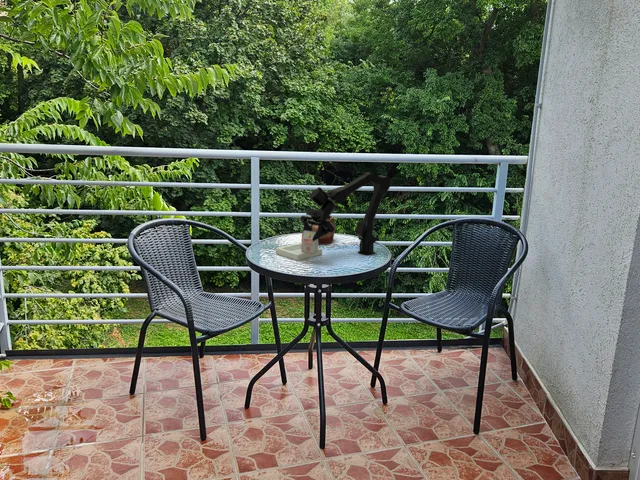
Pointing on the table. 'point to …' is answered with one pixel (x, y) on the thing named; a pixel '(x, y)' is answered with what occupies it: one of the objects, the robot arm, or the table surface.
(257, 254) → the table surface
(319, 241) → the decorative planter
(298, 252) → the housing tray
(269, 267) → the table surface
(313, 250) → the tea bag
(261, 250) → the table surface
